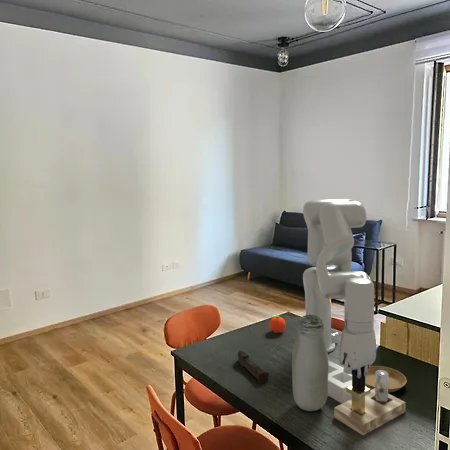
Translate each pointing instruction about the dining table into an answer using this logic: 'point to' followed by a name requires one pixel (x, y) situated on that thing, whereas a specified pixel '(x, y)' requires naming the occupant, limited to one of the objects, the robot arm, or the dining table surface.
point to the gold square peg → (358, 399)
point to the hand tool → (252, 367)
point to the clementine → (277, 324)
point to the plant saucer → (394, 378)
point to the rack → (339, 383)
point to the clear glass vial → (381, 387)
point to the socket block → (369, 413)
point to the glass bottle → (310, 364)
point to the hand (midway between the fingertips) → (358, 388)
